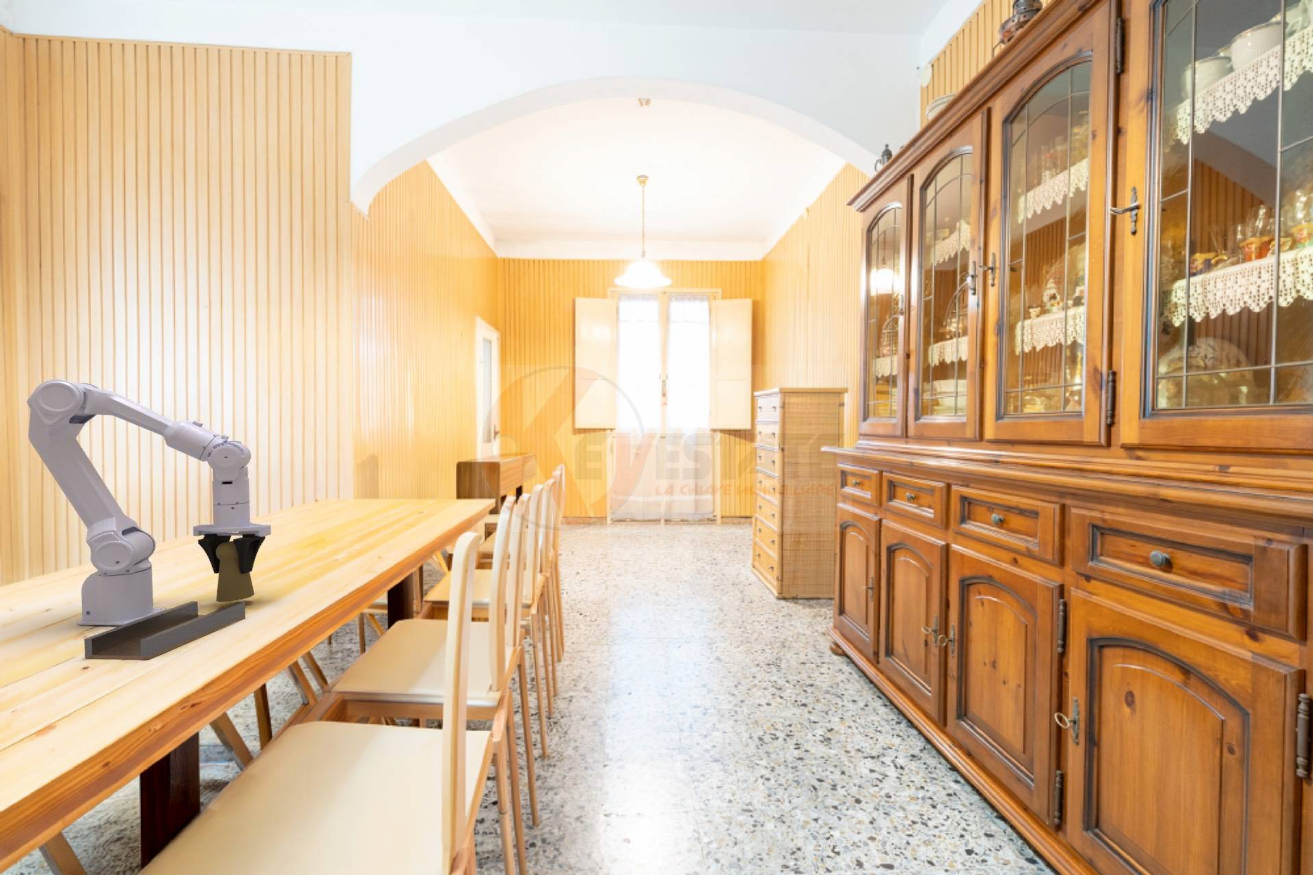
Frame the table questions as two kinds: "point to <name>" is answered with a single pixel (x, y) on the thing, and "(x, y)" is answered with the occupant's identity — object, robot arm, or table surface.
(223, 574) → the olive knobbed tapered piece
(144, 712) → the table surface
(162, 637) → the rail
